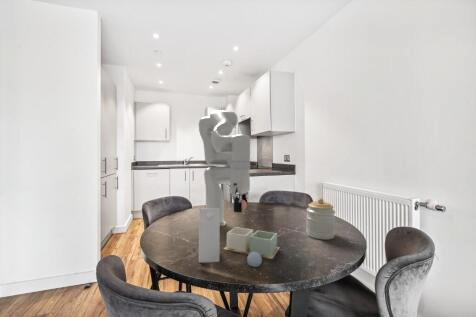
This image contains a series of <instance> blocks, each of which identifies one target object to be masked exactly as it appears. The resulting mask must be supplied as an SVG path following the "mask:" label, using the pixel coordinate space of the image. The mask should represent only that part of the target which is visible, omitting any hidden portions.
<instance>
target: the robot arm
mask: <svg viewBox="0 0 476 317" xmlns="http://www.w3.org/2000/svg"><path fill="white" fill-rule="evenodd" d="M238 121H239V119H238V115H237V114H236V112H235V111H230V110H220V109H218V110H213V111H212V112H211V113H210V114H209V116H204V117H201V118H200V119H199V122H198V132H199V135H200V138H201V140H202V142H203V149H204V150H203V152H204V160H205V163H206V164H207V165H208V167H207V168H205V169H204V172H203V176H204V184H205V208H220V227H221V226H223V227H224V226H226V224H227V222H226V220H224V191H223V189H222V188H221V186H220V185H222V184H223V185H225V184H228V185H229V193H230V195H231V198H232V199H233V200H232V202H233V212H234V213H242V202H241V199H243V200H245V201H246V203H247V204H248V198H249V197H248V196H249V191H250V187H251V184H250V183H251V181H250V180H251V179H250V177H251V176H250V170H251V139H250V136H249V135H247V134H235V135H231V134H232V132H233V129H235V128H236V127H237V125H238V123H239V122H238ZM247 209H248V207H247V208H246V210H247Z"/></svg>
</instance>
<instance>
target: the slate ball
mask: <svg viewBox="0 0 476 317" xmlns="http://www.w3.org/2000/svg"><path fill="white" fill-rule="evenodd" d="M247 255H248V256H247V257H246V258H247V259H246V261H247V265H248V266H250V267H254V268H257V267H260V266H261V264H262V262H263V261H262V260H263V259H262V258H263V257H261V256H260V254H259V253H257V252H251V253H250V254H247Z"/></svg>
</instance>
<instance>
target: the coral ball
mask: <svg viewBox="0 0 476 317" xmlns="http://www.w3.org/2000/svg"><path fill="white" fill-rule="evenodd" d="M241 202H242V212H245V211H246V210H247V209H248V202H247V203H246V201H245V200H243V199H241ZM246 208H247V209H246ZM242 212H241V213H242Z"/></svg>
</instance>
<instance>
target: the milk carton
mask: <svg viewBox="0 0 476 317" xmlns="http://www.w3.org/2000/svg"><path fill="white" fill-rule="evenodd" d="M198 215H199V216H198V263H199V264H198V266H201V264H200V263H219V262H220V238H221V236H220V227H221V226H220V208H206V207H205V208H203V207H202V208H201V207H200V208H199V214H198Z"/></svg>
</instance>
